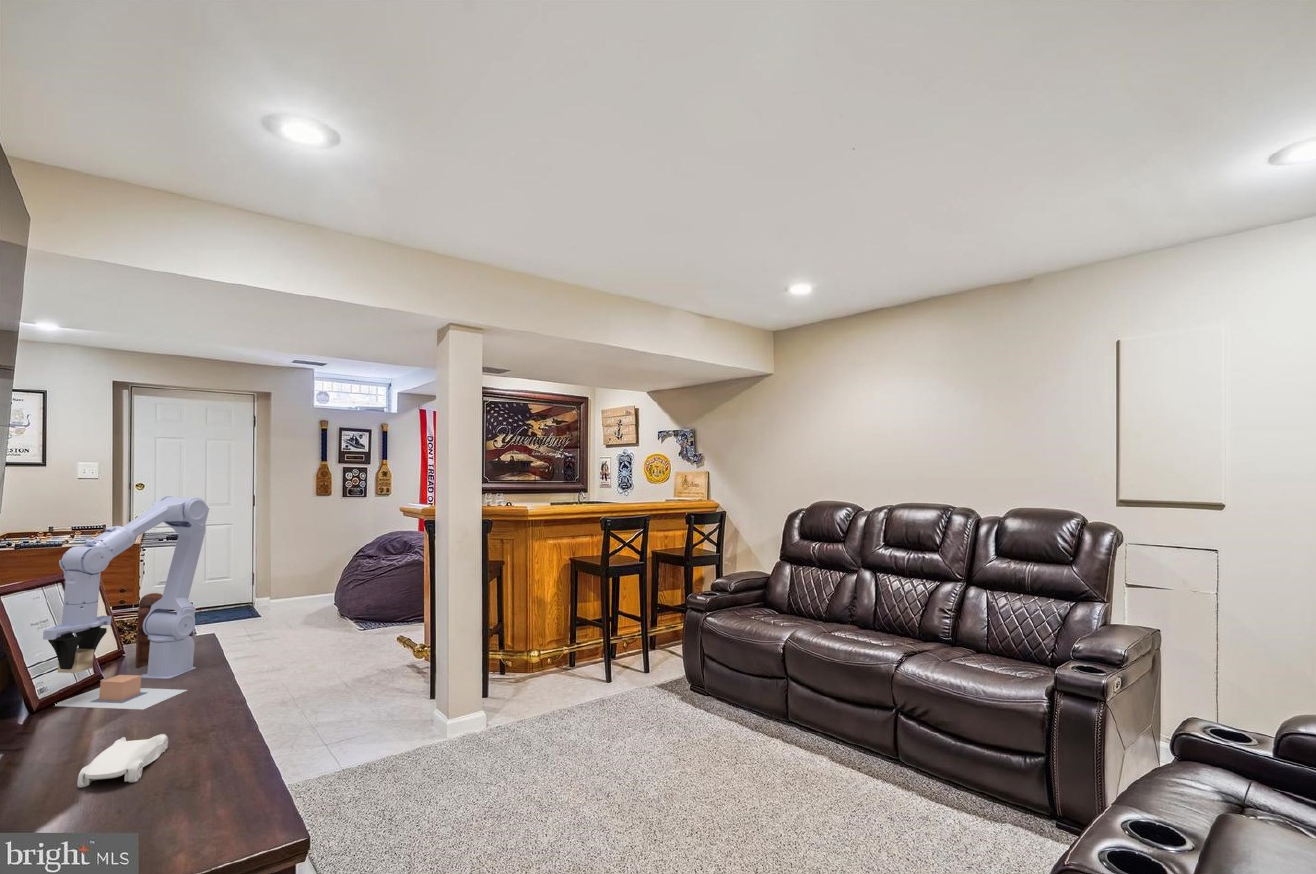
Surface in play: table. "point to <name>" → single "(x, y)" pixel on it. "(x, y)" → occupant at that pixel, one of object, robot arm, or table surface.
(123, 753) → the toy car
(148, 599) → the wooden figurine
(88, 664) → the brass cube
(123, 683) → the terracotta block
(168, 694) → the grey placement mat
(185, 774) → the table surface
